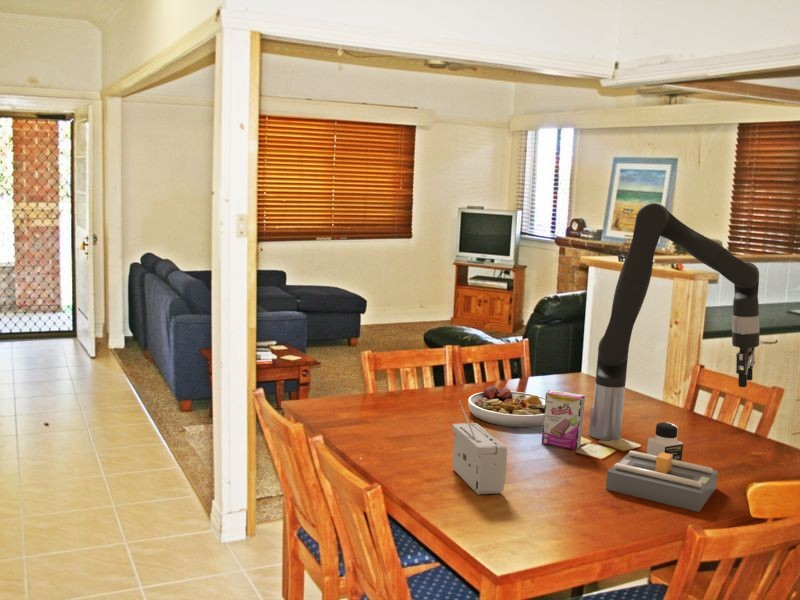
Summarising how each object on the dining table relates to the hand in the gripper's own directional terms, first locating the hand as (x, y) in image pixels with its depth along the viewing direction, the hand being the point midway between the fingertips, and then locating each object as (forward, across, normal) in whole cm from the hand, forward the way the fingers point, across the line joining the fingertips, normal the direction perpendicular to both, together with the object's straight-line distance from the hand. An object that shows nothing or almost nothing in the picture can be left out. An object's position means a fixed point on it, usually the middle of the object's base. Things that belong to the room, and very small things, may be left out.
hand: (745, 383), depth 256 cm
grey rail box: (+20, +44, -13) cm, 50 cm away
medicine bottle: (+20, +23, -18) cm, 36 cm away
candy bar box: (+17, +27, -48) cm, 58 cm away
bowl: (+16, +9, -73) cm, 75 cm away
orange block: (+15, +44, -12) cm, 48 cm away
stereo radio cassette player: (+15, +71, -54) cm, 91 cm away
